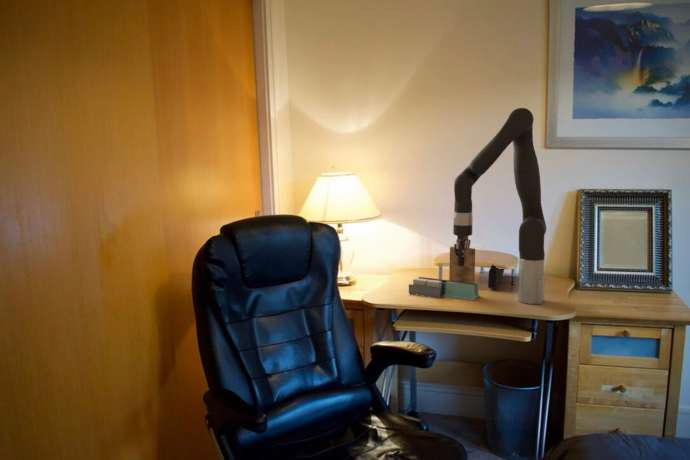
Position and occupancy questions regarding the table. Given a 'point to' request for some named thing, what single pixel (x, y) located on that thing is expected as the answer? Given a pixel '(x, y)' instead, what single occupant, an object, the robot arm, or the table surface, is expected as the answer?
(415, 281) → the offcut
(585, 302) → the table surface
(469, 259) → the walnut panel
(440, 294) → the offcut rack
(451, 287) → the green rectangular block
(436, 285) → the offcut
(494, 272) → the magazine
